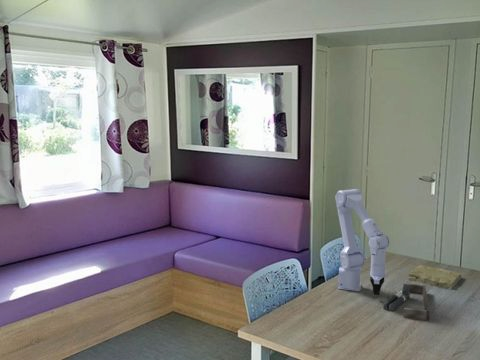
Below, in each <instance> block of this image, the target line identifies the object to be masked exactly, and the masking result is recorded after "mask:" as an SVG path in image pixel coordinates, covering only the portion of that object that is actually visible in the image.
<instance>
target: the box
mask: <svg viewBox="0 0 480 360" xmlns="http://www.w3.org/2000/svg"><path fill="white" fill-rule="evenodd" d="M404 285H409V286H410V291H409V293H413V294H422V299H423V307H424V309H419V308H410V307H409V308H408V307H404V312H403V318H405V319H415V320H423V321H430V307H429V306H430V305H429V299H428V294H427V292H428V291H427V288H426V284H416V283H407V282H403V286H404ZM403 286H402V287H403Z"/></svg>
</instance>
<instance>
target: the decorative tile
mask: <svg viewBox="0 0 480 360" xmlns="http://www.w3.org/2000/svg"><path fill="white" fill-rule="evenodd" d="M407 279H408V280H409V281H414V282H418V283H421V284H425V285H426V284H427V285H429V286H433V287H437V288H441V289H445V290H452V289H453V288H454V287H455V286H456V285H457V284H458V283H459V282H460V281H461V280H462V273H461V272H458V271H457V272H455V271H453V270H449V269H442V268H437V267H433V266H428V265H423V264H419V265H418V266H416V267H415V268H414V269H413V270H411V271H410V273H409V274H408V277H407ZM459 280H460V281H459Z"/></svg>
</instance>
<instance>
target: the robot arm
mask: <svg viewBox="0 0 480 360" xmlns="http://www.w3.org/2000/svg"><path fill="white" fill-rule="evenodd" d="M334 199H335V203H336V204H335V205H336V210H337V215H338V219H339V226H340V229H341V236H342V241H343V243H342V244H343V246H344V247H343V248H342V250H341V251H340V253H339V254H340V260H339V262H340V267H339V269H338V282H337V283H338V284H337V285H338V287H337V289H339V290H345V291H346V290H347V291H354V292H361V289H362V283H361V269H363V266H364V265H365V262H366V258H365V254H363V250H362V249H361V248H360V247H359V246H358V245H357V241H356V234H355V231H354V230H355V229H354V223H353V220H352V219H353V218H352V213H351V211H352V209H353V210H354V212H355V213H356V214H357V216H358V218H359V219H360V220H361V222H362V224H361V227H362V229H363V231H364V233H365V234H366V236H367V238H368V240H369V241H368V243H367V244H368V246H369V251H370V254H371V255H370V256H371V257H370V272H369V275H370V278H369V281H370V283H371V287H372V292H373V295H374V296H380V293H381V289H382V286H383V284H384V282H385V277H386V278H388V273H386V271H385V270H386V256H387V255H386V252H387V248H388V247H389V246H390V239H389V237H388V235H387V234H385V233H384V232H382V231H381V229H380V227H379V226H378V224H377V222H376V221H375V220H374V219H373V218H370V215H369V213H368V211H367V209H366V207H365V205H364V203H363V195H362V193H361V191H360V190H359V189H358V188H353V189H344V190H338V191H337V192H336V194H335V196H334Z"/></svg>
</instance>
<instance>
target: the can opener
mask: <svg viewBox="0 0 480 360" xmlns="http://www.w3.org/2000/svg"><path fill="white" fill-rule="evenodd" d="M409 291H410V286H409V285H404V286H402V290H400V291H398V292H397V293H396V294H394V295H392V296H391V297H389V299H387V300H386V301H385V302H383V305H382V308H383V310H386V311H387V310H389V311H390V312H394V311H396V310H397V309H398V308H399V307H400V306H402V305H403V304H404V302H405V301H406V300H409V299H410V298H411V297H410V296H411V295H412V294H411V292H409Z"/></svg>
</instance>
